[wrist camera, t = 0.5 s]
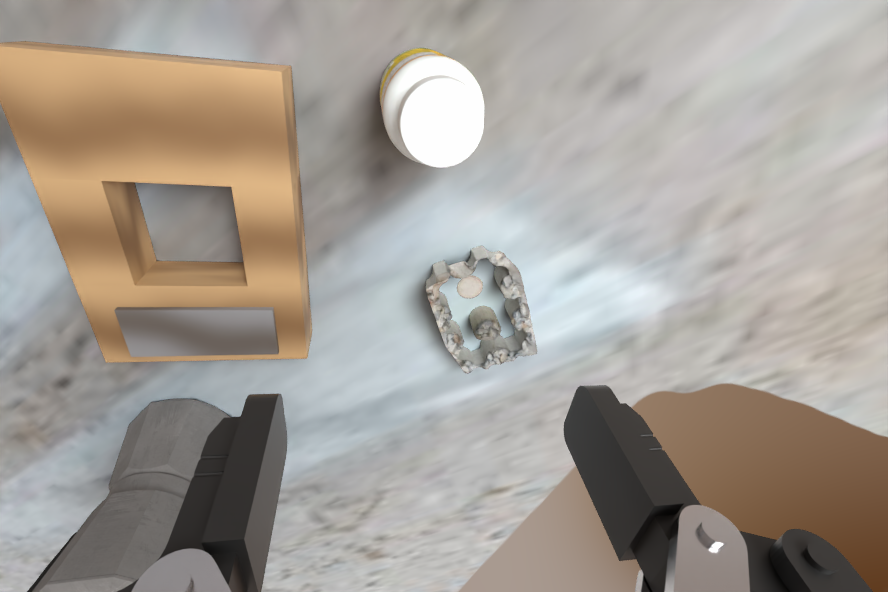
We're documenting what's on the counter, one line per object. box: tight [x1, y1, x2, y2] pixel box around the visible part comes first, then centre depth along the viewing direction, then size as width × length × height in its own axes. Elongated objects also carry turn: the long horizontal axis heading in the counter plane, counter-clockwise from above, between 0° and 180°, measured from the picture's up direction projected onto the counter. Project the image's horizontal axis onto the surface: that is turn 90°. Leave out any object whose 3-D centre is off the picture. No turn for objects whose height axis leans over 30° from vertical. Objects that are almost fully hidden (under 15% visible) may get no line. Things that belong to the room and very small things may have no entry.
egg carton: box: [426, 246, 537, 374], centre depth 36 cm, size 11×8×4 cm
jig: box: [0, 41, 312, 362], centre depth 29 cm, size 20×14×4 cm
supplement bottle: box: [380, 48, 484, 168], centre depth 24 cm, size 5×5×10 cm
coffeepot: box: [27, 399, 230, 592], centre depth 33 cm, size 15×9×18 cm, turn 110°
